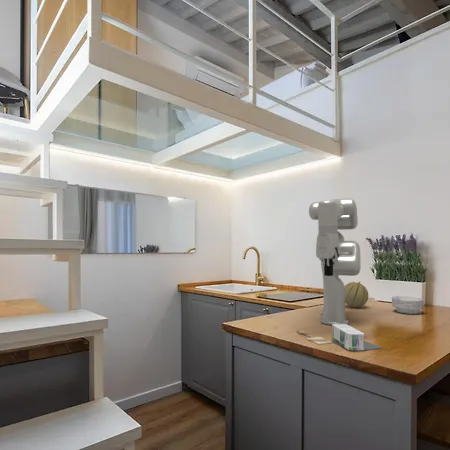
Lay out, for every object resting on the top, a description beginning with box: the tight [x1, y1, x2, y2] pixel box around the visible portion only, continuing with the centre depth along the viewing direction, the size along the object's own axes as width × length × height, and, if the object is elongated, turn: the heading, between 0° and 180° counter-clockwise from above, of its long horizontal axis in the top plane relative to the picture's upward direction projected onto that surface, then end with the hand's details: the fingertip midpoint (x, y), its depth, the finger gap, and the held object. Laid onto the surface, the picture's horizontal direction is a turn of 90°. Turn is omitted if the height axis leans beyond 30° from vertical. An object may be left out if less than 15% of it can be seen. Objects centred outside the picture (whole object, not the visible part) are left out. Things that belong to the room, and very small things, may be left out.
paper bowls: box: [391, 295, 425, 315], centre depth 185 cm, size 15×15×8 cm
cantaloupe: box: [344, 281, 369, 309], centre depth 200 cm, size 15×15×15 cm
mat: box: [330, 340, 383, 353], centre depth 125 cm, size 13×12×1 cm
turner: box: [296, 330, 333, 346], centre depth 134 cm, size 18×6×1 cm, turn 21°
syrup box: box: [331, 324, 365, 351], centre depth 125 cm, size 6×6×14 cm
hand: (328, 275), depth 141 cm, fingers closed
